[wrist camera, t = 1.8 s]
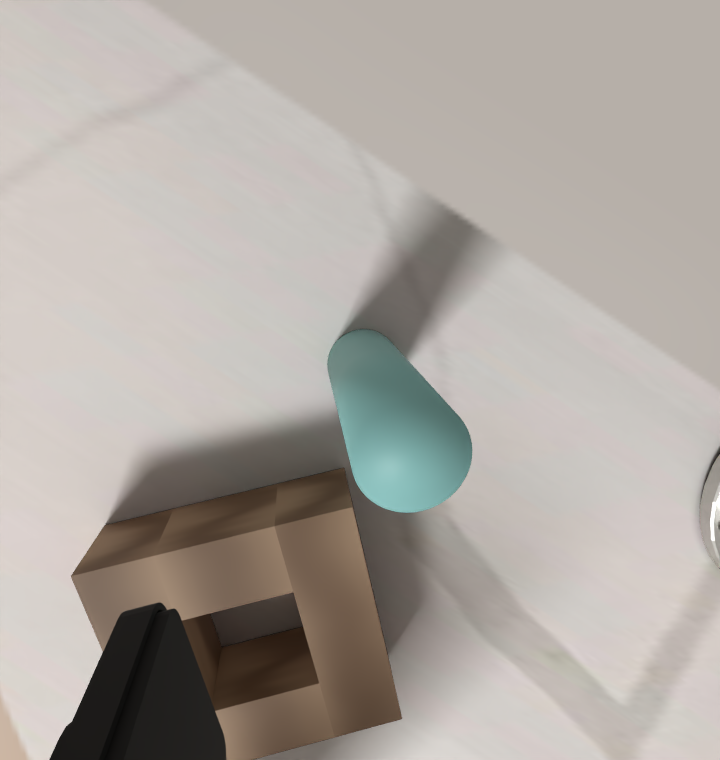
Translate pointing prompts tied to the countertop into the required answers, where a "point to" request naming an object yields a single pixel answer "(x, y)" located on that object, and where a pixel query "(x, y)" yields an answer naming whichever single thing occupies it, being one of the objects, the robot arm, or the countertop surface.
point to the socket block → (251, 584)
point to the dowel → (395, 426)
